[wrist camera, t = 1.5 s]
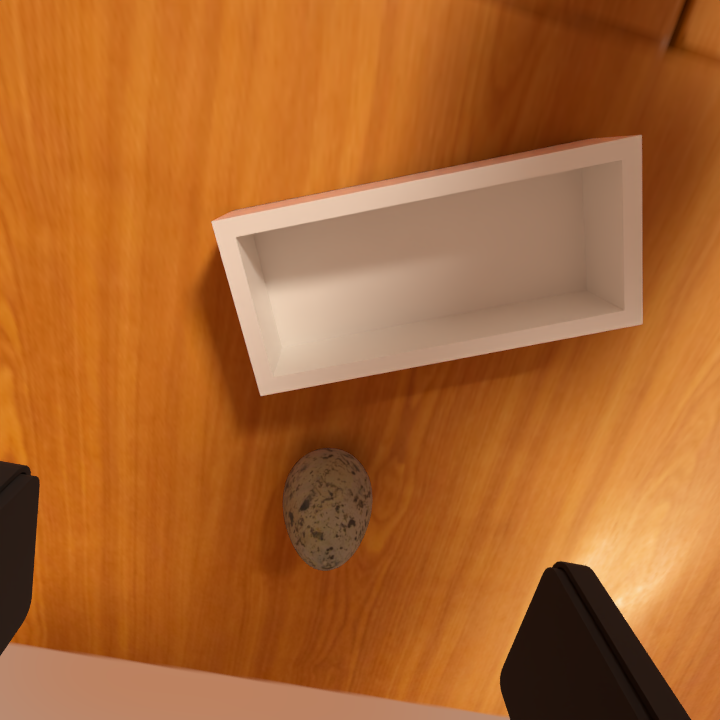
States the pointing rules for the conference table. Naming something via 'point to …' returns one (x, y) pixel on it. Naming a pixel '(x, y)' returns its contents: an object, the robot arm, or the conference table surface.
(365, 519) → the decorative egg
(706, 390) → the conference table surface
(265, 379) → the open rectangular box
